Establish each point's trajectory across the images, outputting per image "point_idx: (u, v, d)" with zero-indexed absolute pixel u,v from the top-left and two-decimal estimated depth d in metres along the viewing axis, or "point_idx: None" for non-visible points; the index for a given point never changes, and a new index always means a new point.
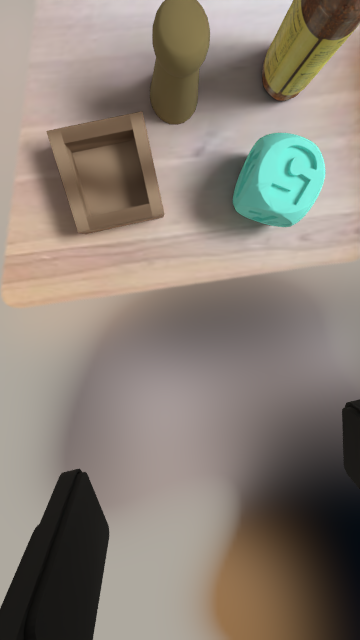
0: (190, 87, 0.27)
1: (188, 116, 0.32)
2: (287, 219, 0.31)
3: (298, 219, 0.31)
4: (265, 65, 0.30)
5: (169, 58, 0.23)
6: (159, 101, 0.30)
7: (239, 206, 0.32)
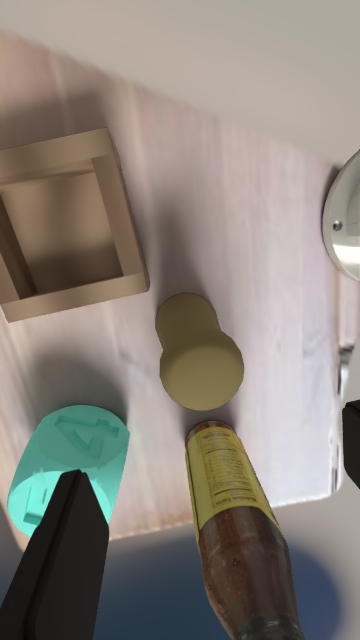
0: None
1: None
2: None
3: None
4: (212, 429, 0.26)
5: (168, 358, 0.14)
6: (167, 313, 0.21)
7: (34, 431, 0.22)
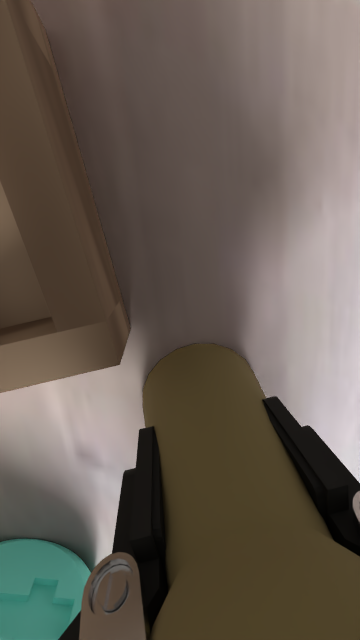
0: None
1: None
2: None
3: None
4: None
5: None
6: (166, 399, 0.10)
7: None
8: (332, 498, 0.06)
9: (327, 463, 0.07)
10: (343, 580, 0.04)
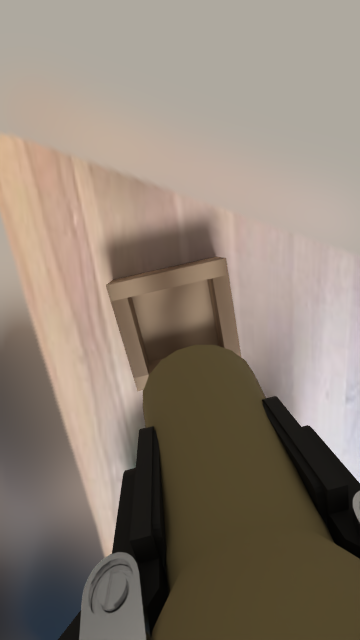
0: None
1: None
2: None
3: None
4: None
5: None
6: (166, 401, 0.10)
7: None
8: (332, 498, 0.06)
9: (327, 463, 0.07)
10: (344, 583, 0.04)
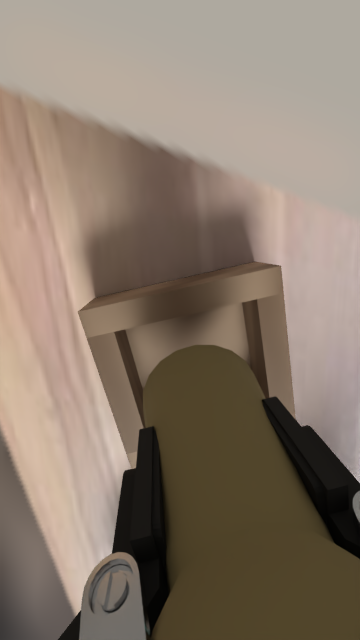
0: None
1: None
2: None
3: None
4: None
5: None
6: (166, 401, 0.10)
7: None
8: (332, 498, 0.06)
9: (327, 463, 0.07)
10: (344, 583, 0.04)
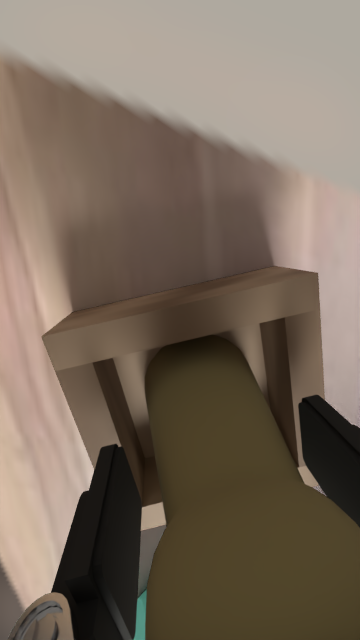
0: None
1: None
2: None
3: None
4: None
5: None
6: (166, 381, 0.11)
7: None
8: None
9: None
10: (305, 503, 0.05)
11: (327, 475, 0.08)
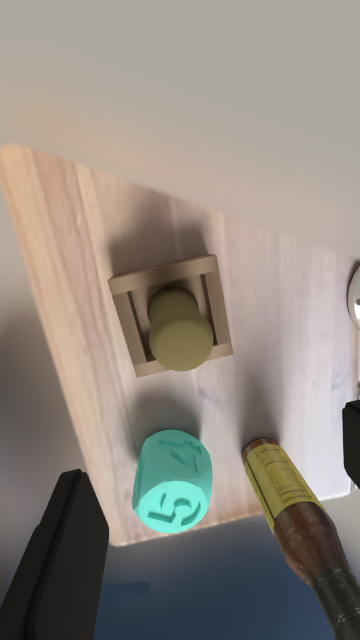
0: None
1: None
2: (134, 507, 0.29)
3: None
4: (266, 446, 0.35)
5: (155, 330, 0.19)
6: (156, 301, 0.26)
7: (148, 452, 0.30)
8: None
9: None
10: (189, 308, 0.20)
11: None
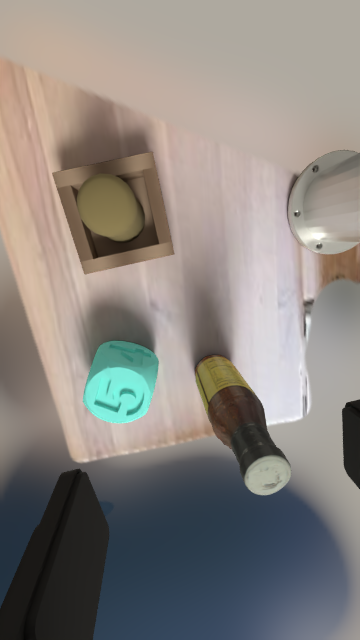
0: None
1: None
2: None
3: None
4: (214, 357, 0.37)
5: (79, 190, 0.21)
6: None
7: (97, 350, 0.32)
8: None
9: None
10: None
11: None
